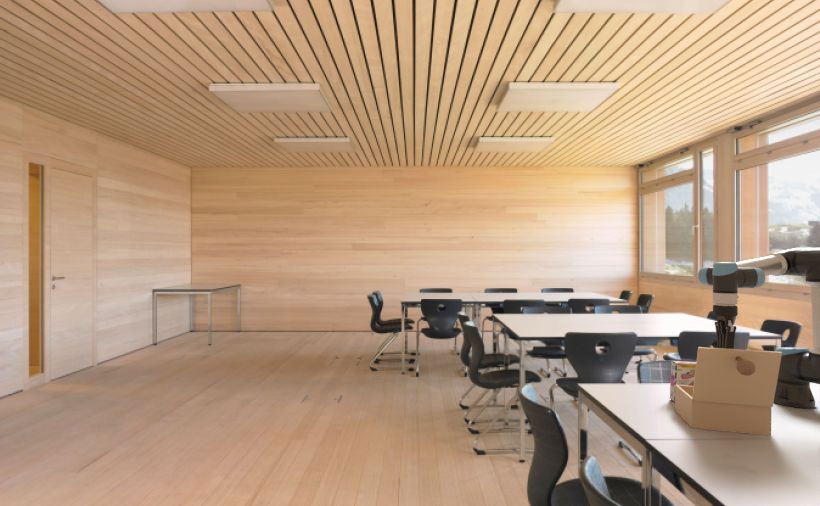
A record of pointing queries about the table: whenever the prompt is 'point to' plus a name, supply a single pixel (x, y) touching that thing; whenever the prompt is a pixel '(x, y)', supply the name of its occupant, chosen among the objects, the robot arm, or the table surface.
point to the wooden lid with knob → (736, 376)
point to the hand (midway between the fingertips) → (725, 369)
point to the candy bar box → (681, 375)
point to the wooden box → (721, 414)
